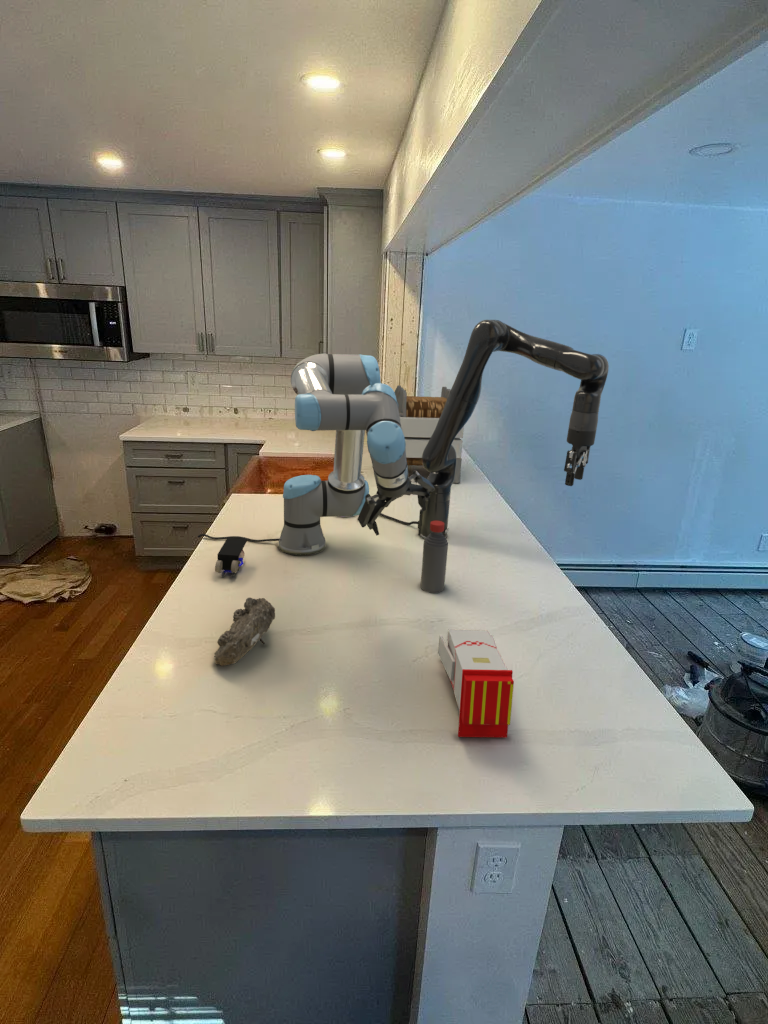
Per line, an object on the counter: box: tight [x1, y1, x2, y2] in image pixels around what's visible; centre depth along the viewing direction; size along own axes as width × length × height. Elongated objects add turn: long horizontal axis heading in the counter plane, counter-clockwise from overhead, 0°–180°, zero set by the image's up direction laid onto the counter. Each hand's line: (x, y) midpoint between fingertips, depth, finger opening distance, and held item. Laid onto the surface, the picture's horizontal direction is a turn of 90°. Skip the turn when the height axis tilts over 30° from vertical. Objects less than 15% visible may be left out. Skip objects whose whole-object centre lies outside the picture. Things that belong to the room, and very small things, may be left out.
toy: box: [437, 628, 515, 738], centre depth 117 cm, size 12×13×30 cm
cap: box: [430, 521, 444, 532], centre depth 156 cm, size 4×4×2 cm
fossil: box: [214, 597, 276, 667], centre depth 130 cm, size 22×10×15 cm
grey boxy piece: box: [394, 384, 465, 484], centre depth 268 cm, size 34×33×41 cm
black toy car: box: [214, 538, 248, 578], centre depth 166 cm, size 7×8×15 cm
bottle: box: [420, 531, 449, 594], centre depth 159 cm, size 7×7×19 cm
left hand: (398, 518), depth 144 cm, fingers open, 13 cm apart
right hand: (573, 482), depth 165 cm, fingers open, 8 cm apart
